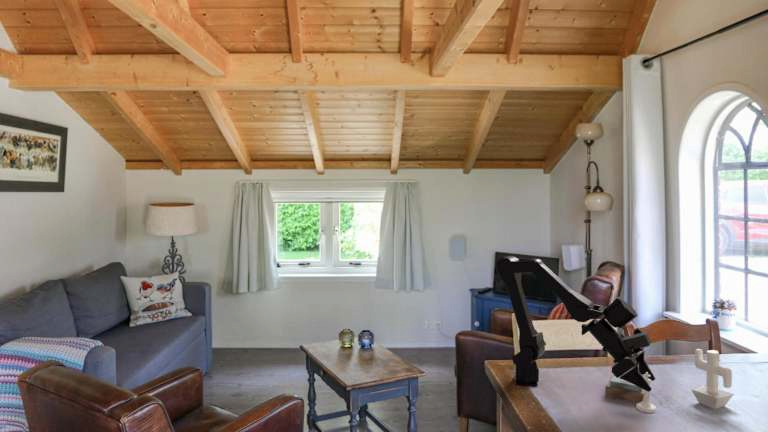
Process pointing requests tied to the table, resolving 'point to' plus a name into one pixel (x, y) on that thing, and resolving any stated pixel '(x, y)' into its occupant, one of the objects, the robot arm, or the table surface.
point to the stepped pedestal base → (623, 390)
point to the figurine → (712, 380)
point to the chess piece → (646, 400)
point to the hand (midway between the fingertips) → (652, 385)
